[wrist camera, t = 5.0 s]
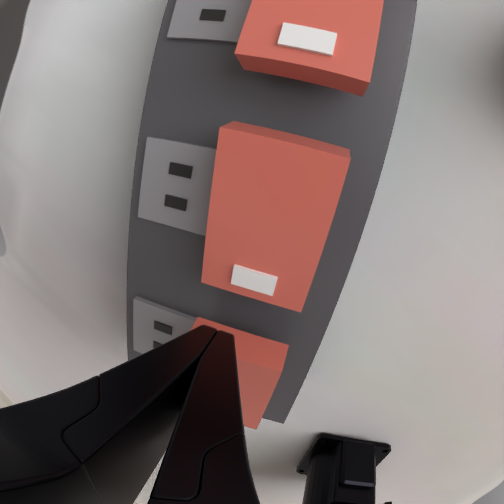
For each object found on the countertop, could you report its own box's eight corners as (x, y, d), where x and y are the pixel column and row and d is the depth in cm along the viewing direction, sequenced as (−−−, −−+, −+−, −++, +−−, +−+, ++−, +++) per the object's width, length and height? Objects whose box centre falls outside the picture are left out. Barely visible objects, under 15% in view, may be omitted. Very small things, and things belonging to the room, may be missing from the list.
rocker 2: (305, 290, 13) (300, 315, 12) (213, 263, 14) (199, 284, 12) (349, 149, 10) (350, 160, 9) (233, 120, 11) (218, 127, 9)
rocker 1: (362, 96, 9) (370, 80, 8) (243, 69, 10) (233, 51, 8) (383, -28, 8) (390, -51, 6) (282, -48, 8) (278, -72, 7)
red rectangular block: (262, 408, 17) (255, 431, 15) (194, 386, 17) (184, 407, 16) (288, 344, 13) (281, 374, 12) (197, 316, 14) (183, 342, 12)
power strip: (292, 379, 21) (281, 431, 17) (155, 334, 22) (123, 374, 18) (411, -111, 7) (423, -149, 3) (256, -135, 8) (238, -172, 4)
